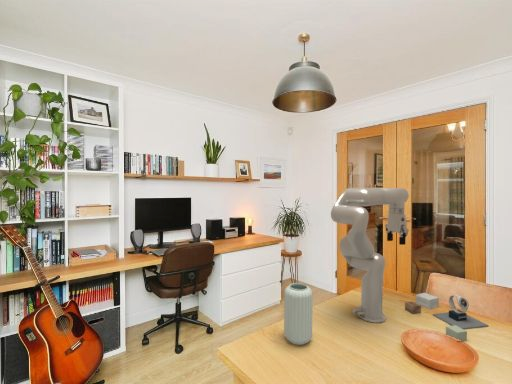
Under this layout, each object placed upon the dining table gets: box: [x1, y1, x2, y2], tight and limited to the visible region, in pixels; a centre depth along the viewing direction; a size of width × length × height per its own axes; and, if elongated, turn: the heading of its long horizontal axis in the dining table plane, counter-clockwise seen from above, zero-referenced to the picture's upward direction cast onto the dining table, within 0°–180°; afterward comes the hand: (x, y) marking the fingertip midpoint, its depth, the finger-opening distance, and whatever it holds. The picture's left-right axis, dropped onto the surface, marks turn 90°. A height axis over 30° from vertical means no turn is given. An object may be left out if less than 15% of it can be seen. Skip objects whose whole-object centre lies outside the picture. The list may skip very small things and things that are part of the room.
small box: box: [415, 292, 440, 310], centre depth 144 cm, size 8×8×5 cm
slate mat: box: [432, 311, 489, 330], centre depth 128 cm, size 16×14×1 cm
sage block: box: [445, 325, 468, 342], centre depth 113 cm, size 5×5×4 cm
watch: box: [448, 294, 470, 321], centre depth 128 cm, size 6×8×11 cm
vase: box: [283, 282, 314, 346], centre depth 111 cm, size 12×12×22 cm
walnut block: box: [404, 301, 422, 315], centre depth 137 cm, size 5×5×4 cm
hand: (395, 242), depth 146 cm, fingers open, 9 cm apart
